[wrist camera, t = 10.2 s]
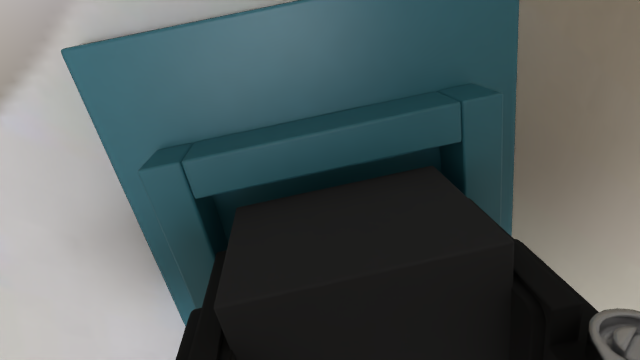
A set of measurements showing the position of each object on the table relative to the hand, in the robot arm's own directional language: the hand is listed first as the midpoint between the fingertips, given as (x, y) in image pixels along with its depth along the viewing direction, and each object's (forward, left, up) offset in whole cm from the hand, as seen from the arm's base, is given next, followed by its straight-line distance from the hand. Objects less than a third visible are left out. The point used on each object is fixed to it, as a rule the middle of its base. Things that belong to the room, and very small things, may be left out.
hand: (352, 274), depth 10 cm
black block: (0, 0, 0) cm, 0 cm away
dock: (0, +3, -3) cm, 4 cm away
